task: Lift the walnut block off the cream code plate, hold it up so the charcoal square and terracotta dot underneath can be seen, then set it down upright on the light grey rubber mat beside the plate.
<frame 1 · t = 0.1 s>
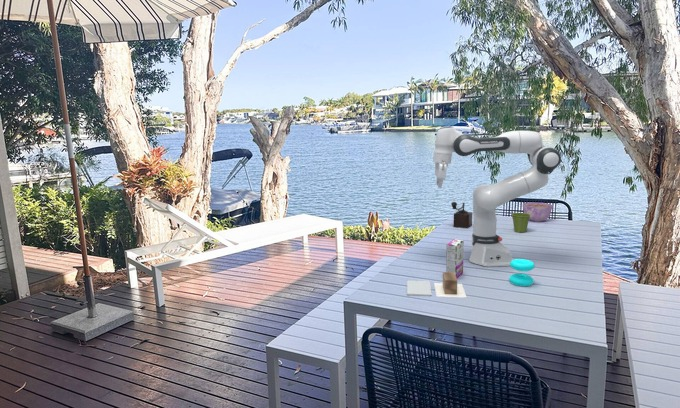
hand: (438, 186, 224), 39 cm above the table, tool pointing down, fingers open, 8 cm apart
donuts: (521, 283, 195), on the table
manual coffee grinder: (461, 227, 303), on the table
grey mat: (418, 289, 190), on the table
bowl of food: (536, 220, 318), on the table
walnut block: (449, 289, 188), resting on code plate
candy bar box: (454, 276, 206), on the table
plant pot: (520, 231, 287), on the table
code plate: (449, 290, 188), on the table
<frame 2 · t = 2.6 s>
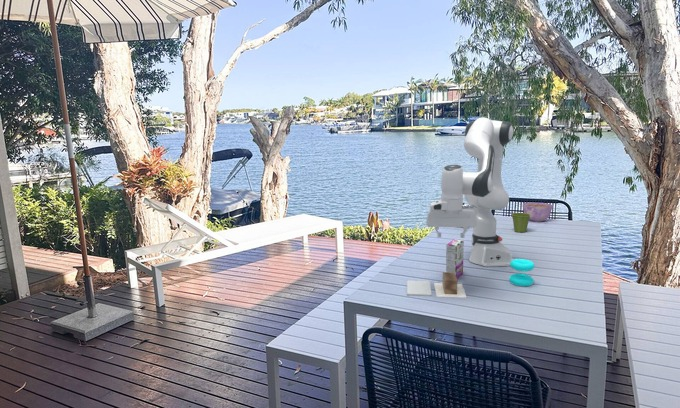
hand: (450, 237, 184), 23 cm above the table, tool pointing down, fingers open, 8 cm apart
nothing on the table moved.
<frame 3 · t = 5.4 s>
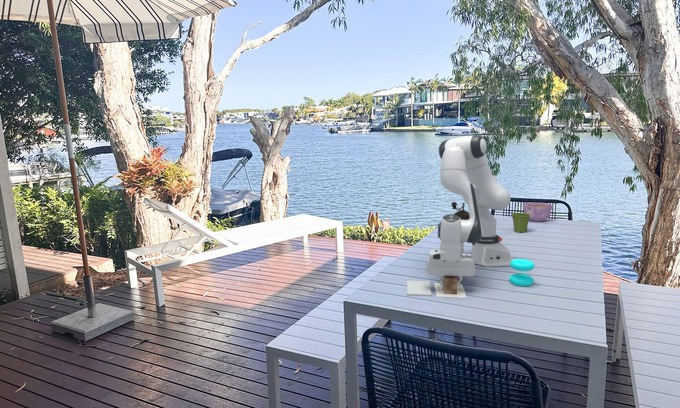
hand: (449, 285, 188), 2 cm above the table, tool pointing down, fingers closed on walnut block, 5 cm apart
walnut block: (449, 289, 188), resting on code plate, touching gripper
everything else where it was.
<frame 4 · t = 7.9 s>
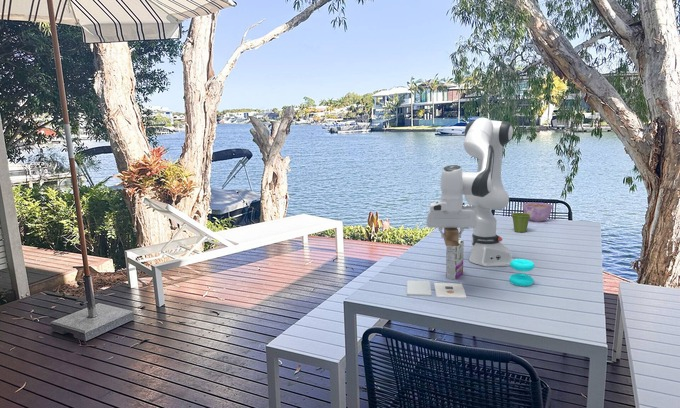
hand: (451, 237, 184), 23 cm above the table, tool pointing down, fingers closed on walnut block, 5 cm apart
walnut block: (451, 242, 185), point 21 cm above the table, touching gripper
everything else where it was.
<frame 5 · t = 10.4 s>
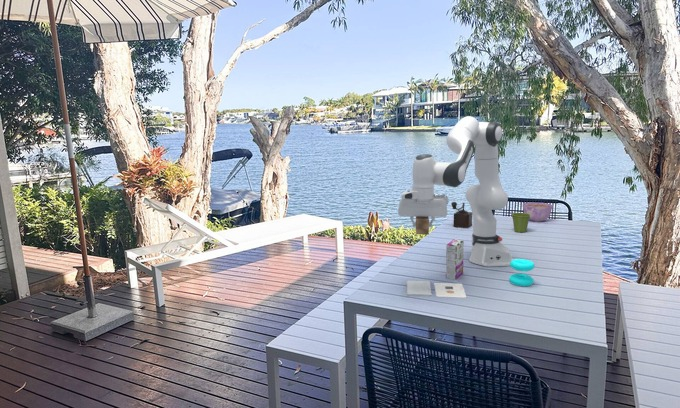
hand: (422, 226, 185), 28 cm above the table, tool pointing down, fingers closed on walnut block, 5 cm apart
walnut block: (422, 231, 185), point 26 cm above the table, touching gripper
everything else where it was.
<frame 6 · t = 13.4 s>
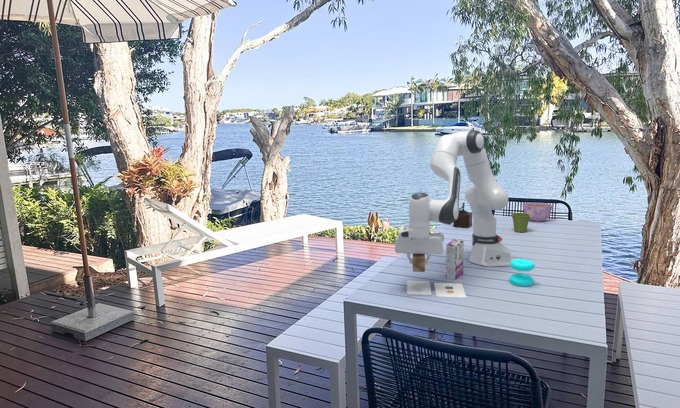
hand: (418, 263, 188), 12 cm above the table, tool pointing down, fingers closed on walnut block, 5 cm apart
walnut block: (418, 268, 189), point 10 cm above the table, touching gripper
everything else where it was.
when the fingers open (5 cm above the table, at t = 15.8 s): walnut block drops 1 cm, resting on grey mat.
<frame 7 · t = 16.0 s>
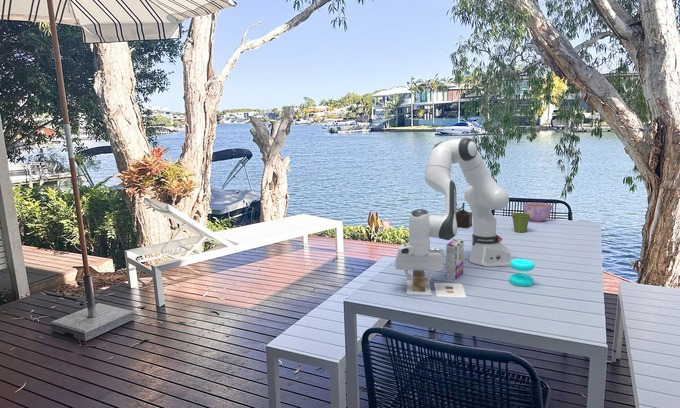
hand: (418, 279, 190), 5 cm above the table, tool pointing down, fingers open, 7 cm apart
walnut block: (418, 287, 190), point 1 cm above the table, touching grey mat
everything else where it was.
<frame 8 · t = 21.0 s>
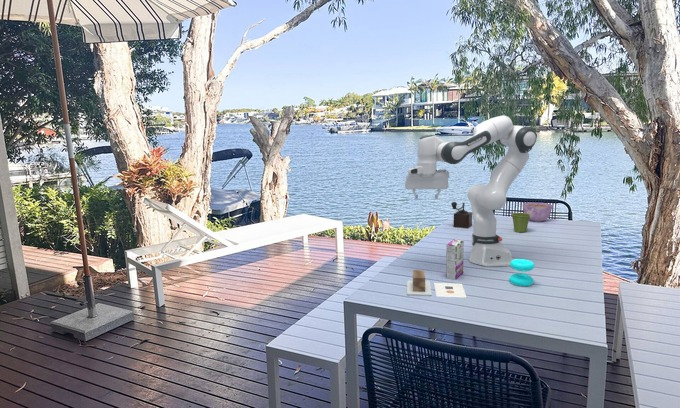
hand: (426, 198, 211), 35 cm above the table, tool pointing down, fingers open, 8 cm apart
nothing on the table moved.
at the end: walnut block inside the target area on the grey mat (0.0 cm from its centre), point 1.0 cm above the grey mat's base; walnut block tilted 0°; the gripper is holding nothing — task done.
